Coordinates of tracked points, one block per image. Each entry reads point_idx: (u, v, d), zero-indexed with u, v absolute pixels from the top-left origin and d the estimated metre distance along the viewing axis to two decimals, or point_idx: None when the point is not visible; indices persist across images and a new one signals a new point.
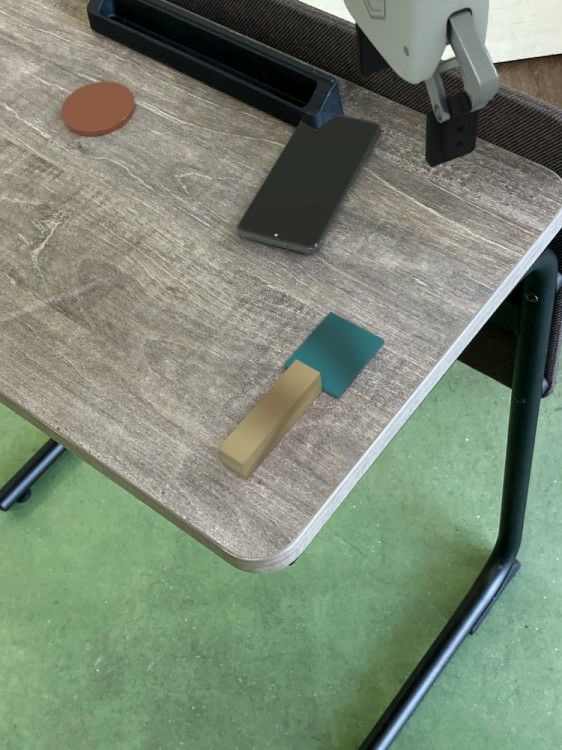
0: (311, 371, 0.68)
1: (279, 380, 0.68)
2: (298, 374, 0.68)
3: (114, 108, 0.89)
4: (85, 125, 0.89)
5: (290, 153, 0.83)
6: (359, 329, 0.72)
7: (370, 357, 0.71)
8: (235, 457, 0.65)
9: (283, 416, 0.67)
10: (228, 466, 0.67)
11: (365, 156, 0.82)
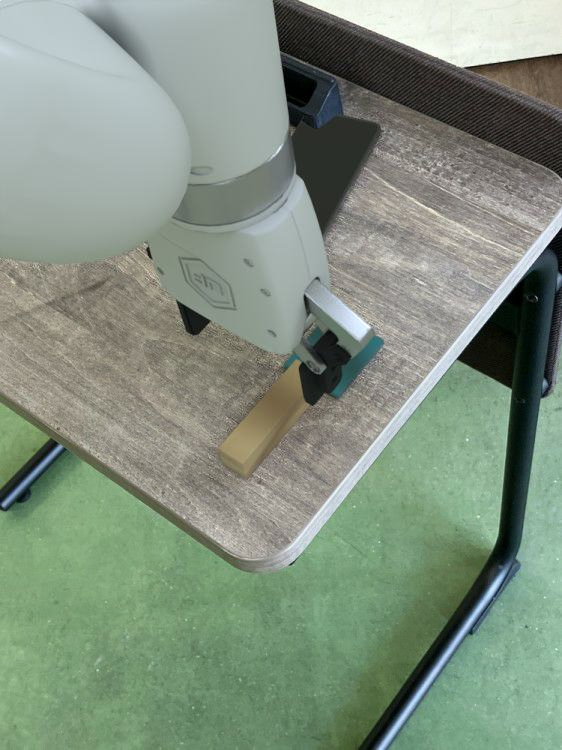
0: None
1: (279, 380, 0.68)
2: (298, 374, 0.68)
3: None
4: None
5: None
6: None
7: (370, 357, 0.71)
8: (235, 457, 0.65)
9: (283, 416, 0.67)
10: (228, 466, 0.67)
11: (365, 156, 0.82)
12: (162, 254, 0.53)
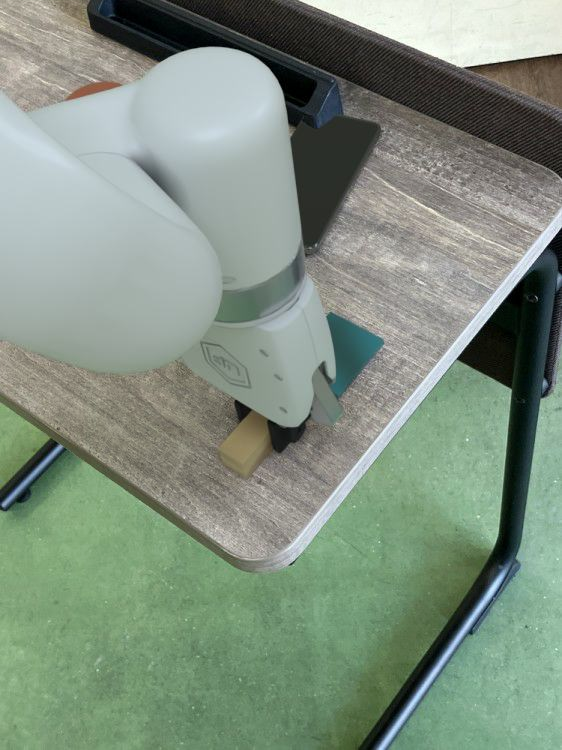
0: None
1: None
2: None
3: None
4: None
5: None
6: (359, 329, 0.72)
7: (370, 357, 0.71)
8: (235, 457, 0.65)
9: None
10: (228, 466, 0.67)
11: (365, 156, 0.82)
12: None
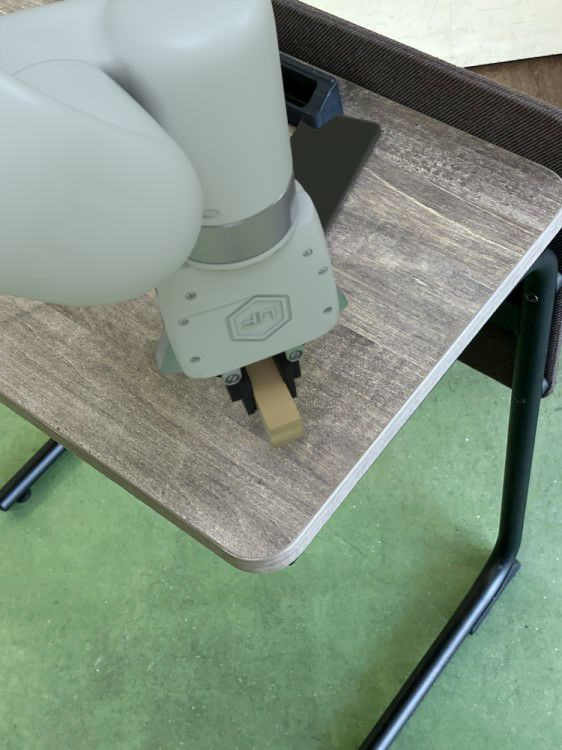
0: None
1: None
2: None
3: None
4: None
5: None
6: None
7: None
8: (289, 419, 0.61)
9: None
10: (280, 442, 0.62)
11: (365, 156, 0.82)
12: (201, 335, 0.53)
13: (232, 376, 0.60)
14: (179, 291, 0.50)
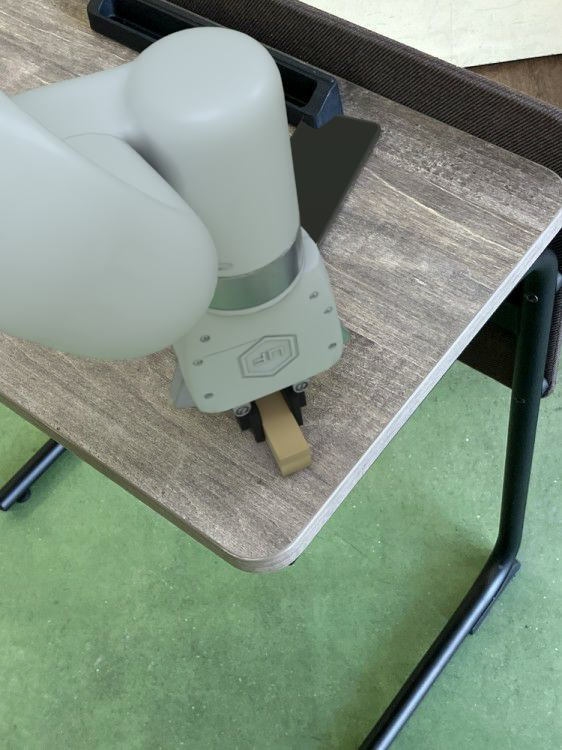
0: None
1: None
2: None
3: None
4: None
5: None
6: None
7: None
8: (298, 449, 0.64)
9: None
10: (290, 471, 0.65)
11: (365, 156, 0.82)
12: (214, 374, 0.56)
13: (242, 408, 0.63)
14: (194, 335, 0.53)
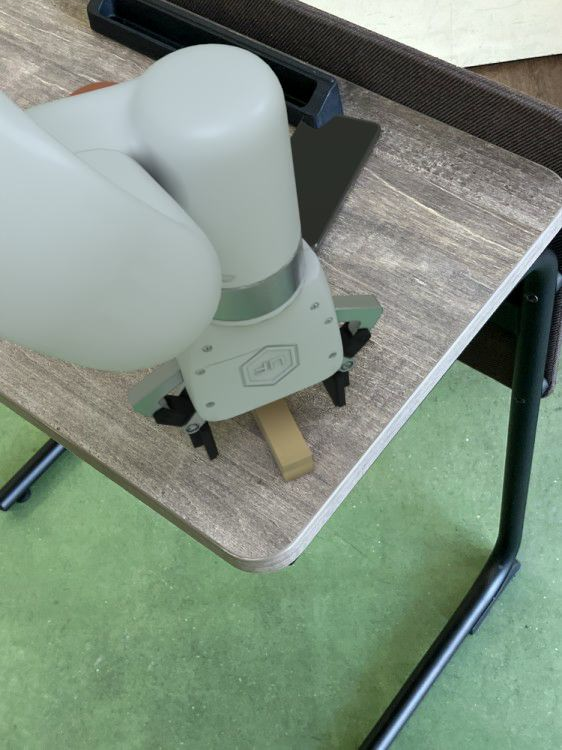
0: None
1: None
2: None
3: None
4: None
5: None
6: None
7: None
8: (301, 456, 0.65)
9: (285, 402, 0.67)
10: (292, 477, 0.66)
11: (365, 156, 0.82)
12: (216, 383, 0.57)
13: (194, 425, 0.62)
14: (197, 345, 0.54)
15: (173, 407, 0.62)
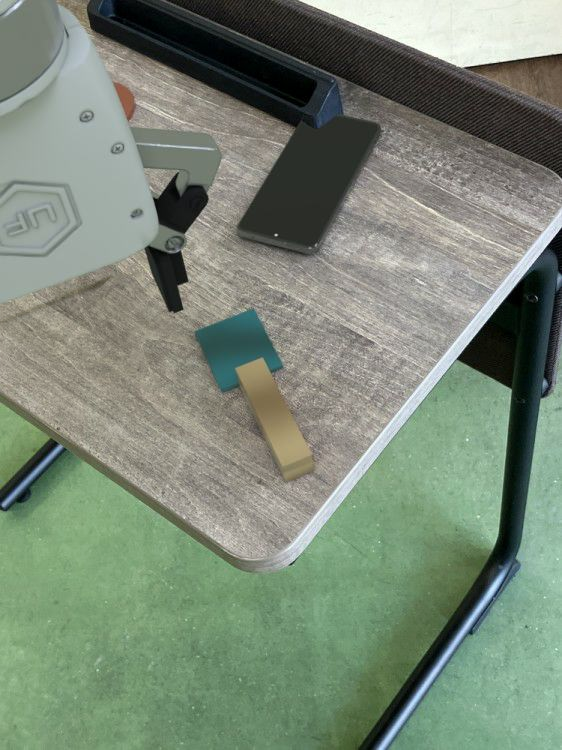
0: (256, 362, 0.69)
1: (247, 389, 0.68)
2: (252, 373, 0.69)
3: None
4: None
5: (290, 153, 0.83)
6: (230, 319, 0.74)
7: None
8: (301, 456, 0.65)
9: (285, 402, 0.67)
10: (292, 477, 0.66)
11: (365, 156, 0.82)
12: None
13: None
14: None
15: None
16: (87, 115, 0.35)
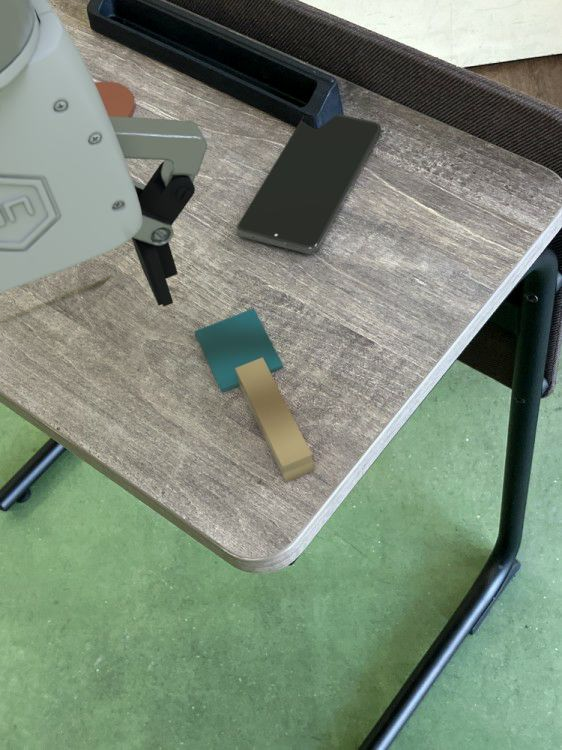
0: (256, 362, 0.69)
1: (247, 389, 0.68)
2: (252, 373, 0.69)
3: (114, 108, 0.89)
4: None
5: (290, 153, 0.83)
6: (230, 319, 0.74)
7: None
8: (301, 456, 0.65)
9: (285, 402, 0.67)
10: (292, 477, 0.66)
11: (365, 156, 0.82)
12: None
13: None
14: None
15: None
16: (61, 105, 0.34)
